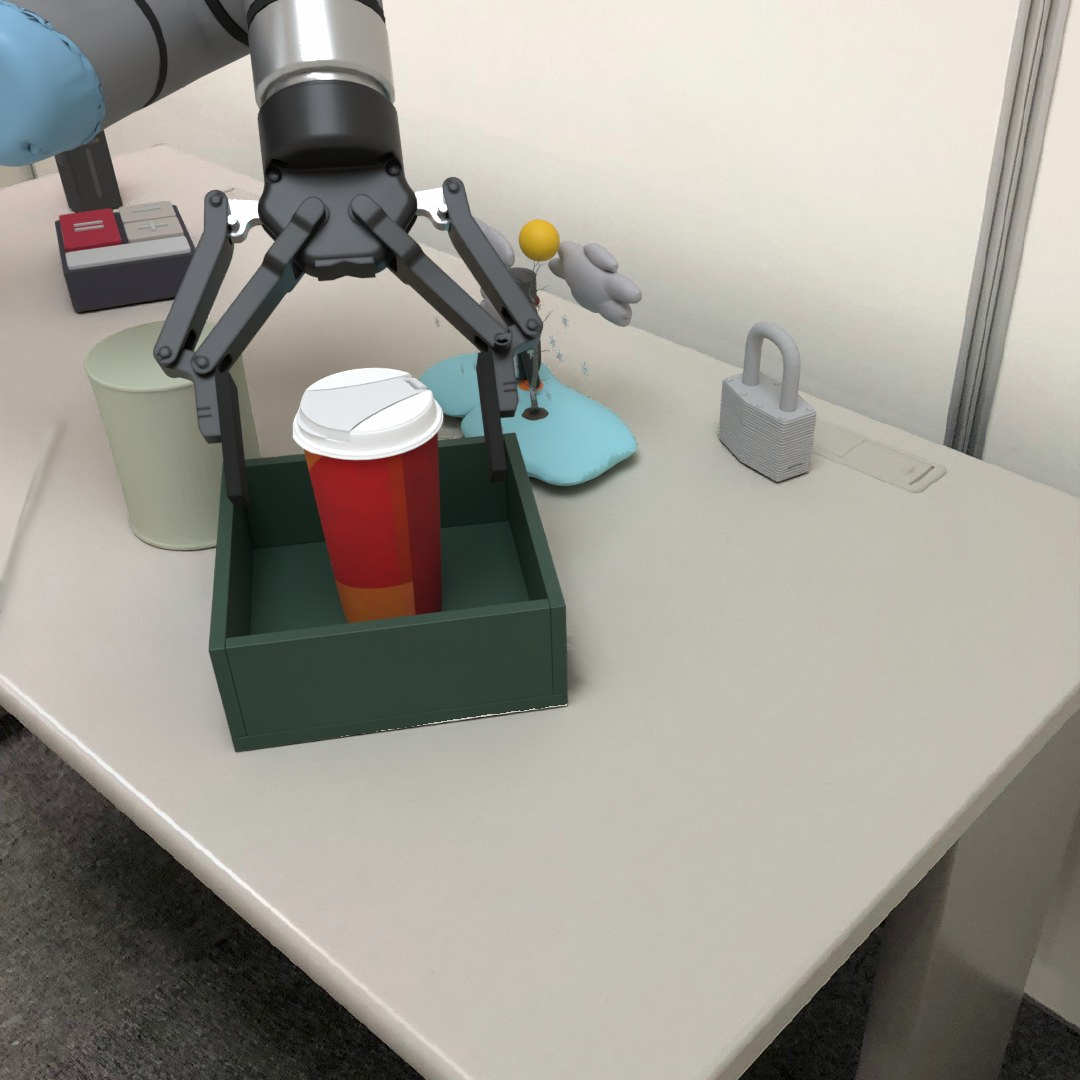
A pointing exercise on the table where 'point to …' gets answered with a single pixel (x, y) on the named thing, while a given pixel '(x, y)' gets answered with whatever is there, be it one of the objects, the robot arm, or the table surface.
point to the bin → (385, 644)
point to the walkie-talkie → (89, 176)
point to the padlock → (768, 410)
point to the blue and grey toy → (544, 402)
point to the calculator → (123, 254)
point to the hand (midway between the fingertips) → (370, 489)
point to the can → (162, 439)
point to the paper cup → (376, 488)
